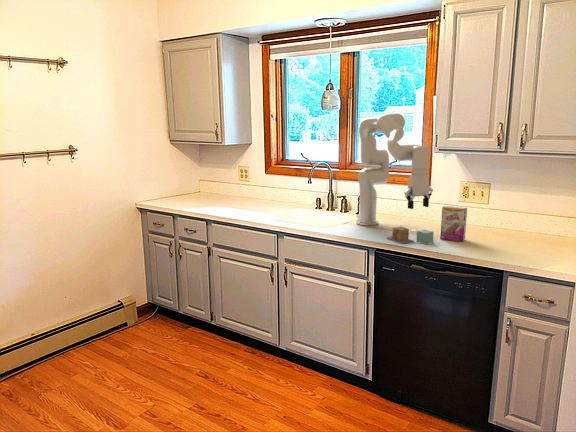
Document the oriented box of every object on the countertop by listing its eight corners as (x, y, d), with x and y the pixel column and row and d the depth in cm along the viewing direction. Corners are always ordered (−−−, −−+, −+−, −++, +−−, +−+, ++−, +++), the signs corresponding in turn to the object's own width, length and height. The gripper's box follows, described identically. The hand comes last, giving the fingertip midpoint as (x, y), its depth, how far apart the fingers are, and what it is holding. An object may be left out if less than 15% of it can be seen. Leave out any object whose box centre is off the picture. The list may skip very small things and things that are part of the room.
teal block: (416, 241, 232) (416, 231, 231) (424, 240, 235) (425, 229, 234) (424, 244, 228) (425, 233, 227) (433, 242, 230) (433, 231, 229)
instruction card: (403, 229, 257) (403, 228, 257) (409, 228, 259) (409, 227, 259) (411, 231, 252) (411, 230, 252) (417, 230, 254) (417, 229, 254)
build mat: (386, 238, 239) (386, 237, 239) (397, 236, 242) (397, 235, 242) (403, 243, 229) (403, 242, 228) (414, 241, 232) (414, 240, 232)
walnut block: (392, 238, 236) (392, 227, 235) (400, 237, 239) (400, 226, 238) (400, 241, 232) (400, 230, 230) (408, 239, 234) (408, 228, 233)
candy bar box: (439, 239, 236) (441, 207, 233) (442, 237, 240) (444, 205, 237) (463, 242, 230) (465, 209, 227) (465, 239, 235) (467, 207, 231)
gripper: (427, 170, 233) (425, 204, 236) (400, 172, 225) (399, 208, 228) (438, 171, 226) (437, 207, 230) (411, 174, 218) (410, 210, 222)
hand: (418, 207), depth 229 cm, fingers open, 9 cm apart
